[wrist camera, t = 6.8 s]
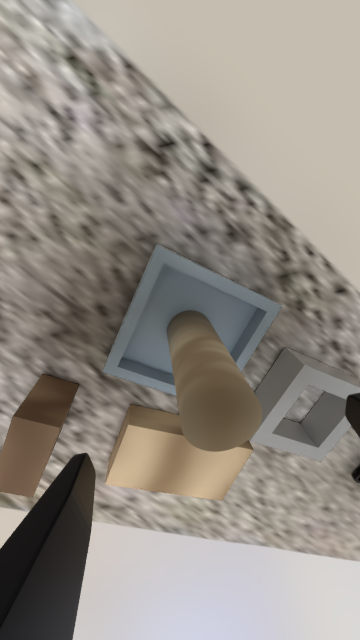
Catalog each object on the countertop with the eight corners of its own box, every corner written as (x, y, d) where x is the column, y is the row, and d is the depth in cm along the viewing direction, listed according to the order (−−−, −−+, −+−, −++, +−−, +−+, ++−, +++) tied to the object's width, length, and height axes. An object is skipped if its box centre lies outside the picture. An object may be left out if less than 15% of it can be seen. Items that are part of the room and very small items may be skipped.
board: (242, 425, 21) (253, 449, 19) (214, 473, 23) (221, 500, 21) (130, 400, 19) (128, 424, 17) (109, 455, 21) (105, 484, 19)
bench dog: (79, 384, 17) (60, 428, 14) (55, 444, 19) (32, 497, 15) (42, 373, 17) (12, 416, 13) (21, 436, 19) (-11, 490, 15)
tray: (269, 297, 17) (282, 306, 15) (211, 392, 19) (217, 408, 17) (156, 243, 15) (157, 245, 13) (107, 357, 17) (102, 372, 15)
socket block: (351, 375, 20) (377, 395, 18) (302, 436, 22) (320, 461, 20) (285, 346, 18) (304, 364, 16) (238, 416, 20) (249, 441, 18)
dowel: (208, 306, 16) (260, 378, 8) (213, 346, 17) (263, 442, 9) (162, 315, 16) (174, 396, 8) (170, 355, 17) (187, 459, 9)
